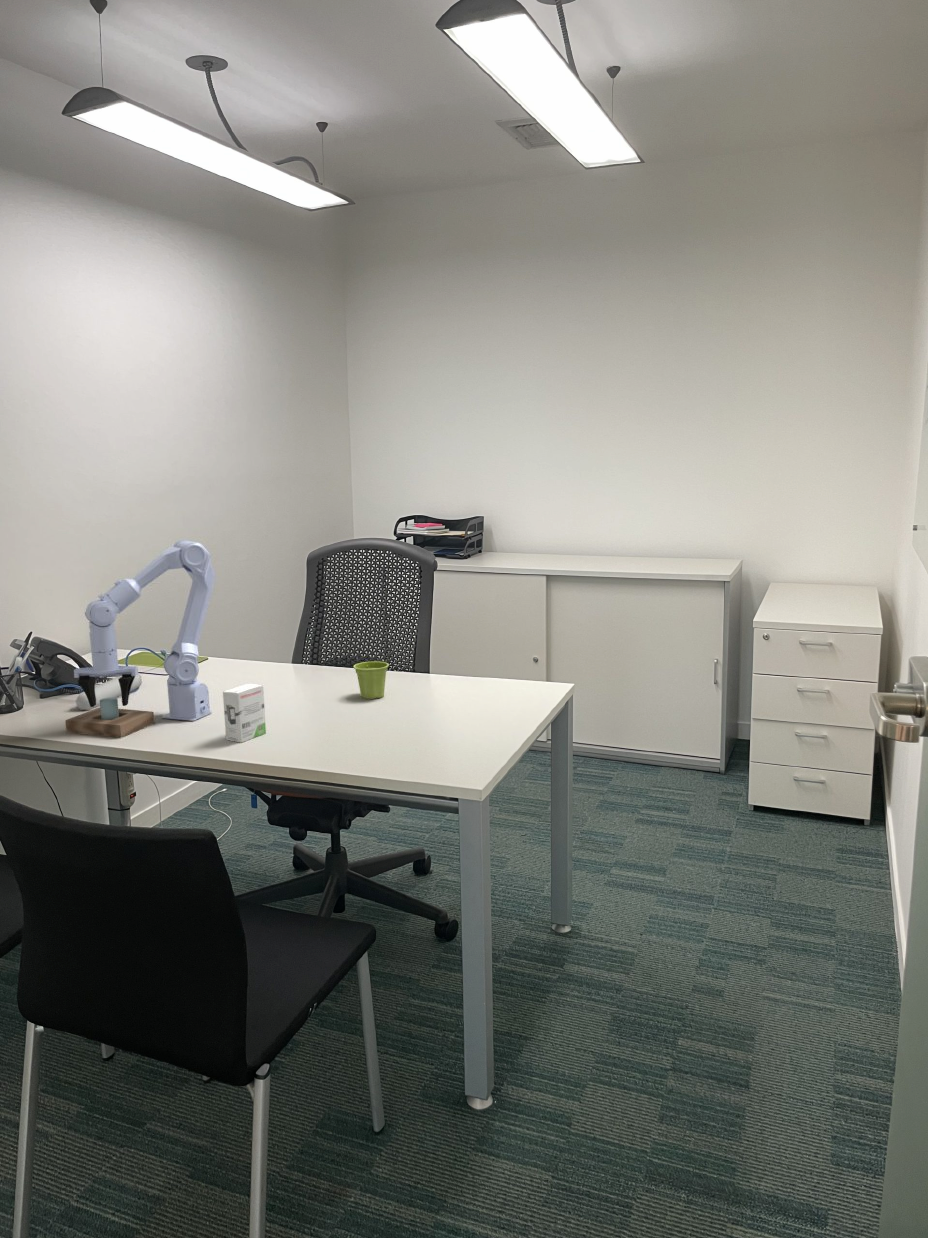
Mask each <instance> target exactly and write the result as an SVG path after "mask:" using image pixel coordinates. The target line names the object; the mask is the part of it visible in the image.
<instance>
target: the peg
mask: <svg viewBox="0 0 928 1238" xmlns="http://www.w3.org/2000/svg"><path fill="white" fill-rule="evenodd" d="M118 701H119V700H118V697H117V698H105V699H101V700H100V706H99V707H100V709H101V719H104V720H113V719H116V718H119V711H118V709H119V704H118Z"/></svg>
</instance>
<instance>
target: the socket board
mask: <svg viewBox="0 0 928 1238" xmlns="http://www.w3.org/2000/svg"><path fill="white" fill-rule="evenodd" d="M118 711H119V718H116V719H113V720H104V719H101V709H100V706H98V707H96V708H93V709H91V710H87V711H86V712H84V713H81V714H79V715H78V714H77V715H75V716H72V717H70V718H67V719H65V730H66V733H69V734H81V735H90V736H91V735H92V736H98V735H99V736H100V737H108V736H109V737H110V738H118V737H122V738H125V737H126V735H127V736H129V735H132V734H134V733H136V732H138V731H141V730H143V729H146V728H148V727H149V726H152V725H154V724H155V713H154V711H148V710H136V709H128V708H127V709H126V708H118ZM147 726H148V727H147ZM140 729H141V730H140ZM133 732H134V733H133ZM109 737H108V738H109Z"/></svg>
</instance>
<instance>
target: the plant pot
mask: <svg viewBox="0 0 928 1238" xmlns="http://www.w3.org/2000/svg"><path fill="white" fill-rule="evenodd" d="M388 667H389V663H387V662H384V661H365V662H364V661H363V662H359V663H356V664H354V665H353V669H354V670H355V673H356V677H357V681H358V686H359V687H358V688H359V692H360V697H361V698H363V699H365V700H374V699H377V698H380V699H381V698H383V697H384V695H385V690H386V689H385V688H386V687H385V685H386V679H387V677H386V676H387V672H388Z"/></svg>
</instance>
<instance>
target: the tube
mask: <svg viewBox="0 0 928 1238" xmlns="http://www.w3.org/2000/svg"><path fill="white" fill-rule="evenodd" d="M121 677H122V676H115V677H114V678H112V679H110V680H108V681H105V682H103V683H100V684H98V685H95V696H96V705H95V706H94V707H90V704H89V701H88V699H87V696H86V694H85V692H84V691H82V692H80V693H79V694H78V696H77V697H76V700H75V704H76V707H78V708H79V711H91V710H94V709H96V708H99V707H100V700H101V699H105V698H117V699H118V698H119V697H122V694H121V688H120V684H119V680H118V679H119V678H121ZM142 678H143V677H142V675H141V674H140V673H138V675H136V676H135V678H134V681H133V683H132V686H131V689H130V692H133V691H134V690H136V689H140V687H141V686H142V684H143V679H142Z"/></svg>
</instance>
